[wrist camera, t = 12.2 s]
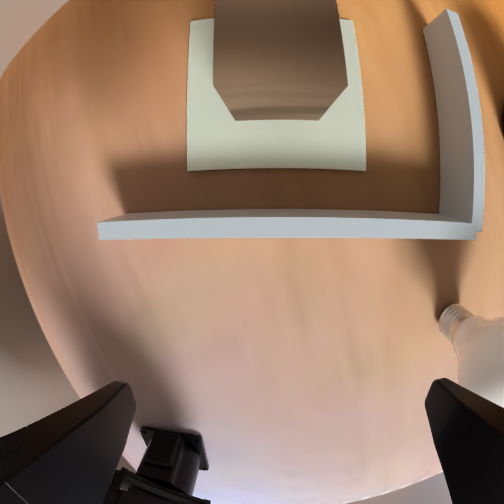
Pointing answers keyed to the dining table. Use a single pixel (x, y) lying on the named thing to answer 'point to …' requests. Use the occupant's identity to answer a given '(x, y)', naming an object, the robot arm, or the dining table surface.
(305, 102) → the walnut block
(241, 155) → the plate
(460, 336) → the lightbulb
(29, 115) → the dining table surface
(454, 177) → the plastic wall
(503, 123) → the supplement container
